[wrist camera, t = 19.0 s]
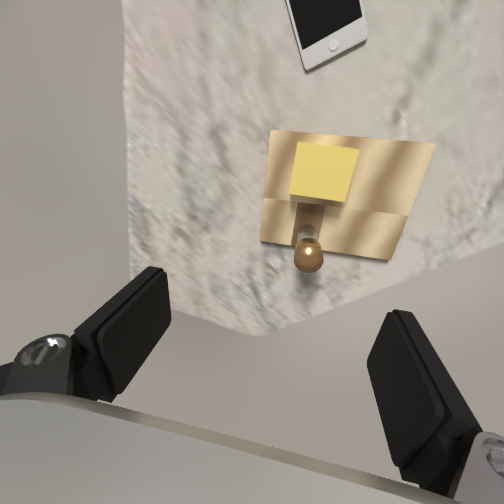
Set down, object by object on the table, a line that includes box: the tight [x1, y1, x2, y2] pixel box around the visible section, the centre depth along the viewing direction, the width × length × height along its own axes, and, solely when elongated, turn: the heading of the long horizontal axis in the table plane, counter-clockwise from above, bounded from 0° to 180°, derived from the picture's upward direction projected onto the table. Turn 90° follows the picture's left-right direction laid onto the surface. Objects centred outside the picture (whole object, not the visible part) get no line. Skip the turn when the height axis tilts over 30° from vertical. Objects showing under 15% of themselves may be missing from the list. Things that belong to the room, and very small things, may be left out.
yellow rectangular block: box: [289, 141, 360, 202], centre depth 31 cm, size 7×6×4 cm
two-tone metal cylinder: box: [294, 224, 323, 273], centre depth 33 cm, size 3×3×9 cm
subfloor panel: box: [260, 130, 436, 260], centre depth 34 cm, size 20×16×1 cm
